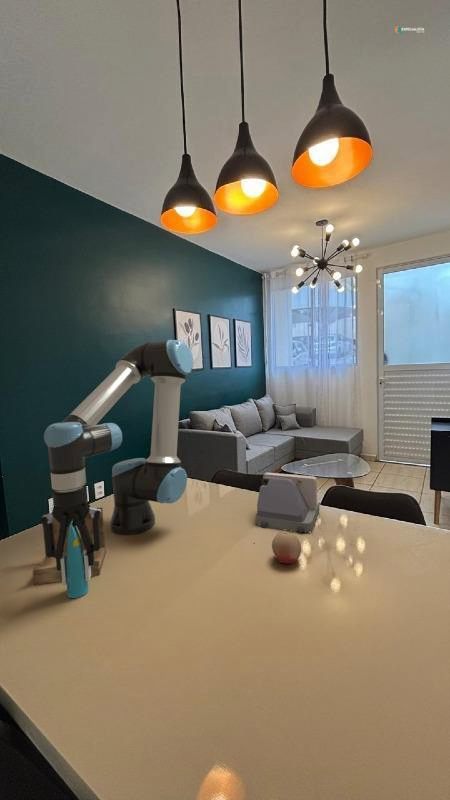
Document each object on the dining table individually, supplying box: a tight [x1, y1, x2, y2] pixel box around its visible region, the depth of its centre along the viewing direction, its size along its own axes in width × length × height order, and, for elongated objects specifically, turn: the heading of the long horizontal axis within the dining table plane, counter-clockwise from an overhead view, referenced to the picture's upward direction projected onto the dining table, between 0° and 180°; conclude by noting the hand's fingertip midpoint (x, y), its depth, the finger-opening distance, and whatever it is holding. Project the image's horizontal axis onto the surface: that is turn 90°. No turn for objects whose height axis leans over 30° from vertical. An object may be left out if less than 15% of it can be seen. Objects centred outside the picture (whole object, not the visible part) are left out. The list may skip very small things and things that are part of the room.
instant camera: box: [255, 472, 321, 533], centre depth 119 cm, size 21×21×15 cm
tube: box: [66, 519, 89, 599], centre depth 83 cm, size 7×5×19 cm, turn 26°
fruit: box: [271, 530, 302, 565], centre depth 93 cm, size 8×8×8 cm
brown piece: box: [32, 507, 107, 586], centre depth 94 cm, size 16×12×14 cm
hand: (77, 579), depth 84 cm, fingers closed on tube, 5 cm apart
